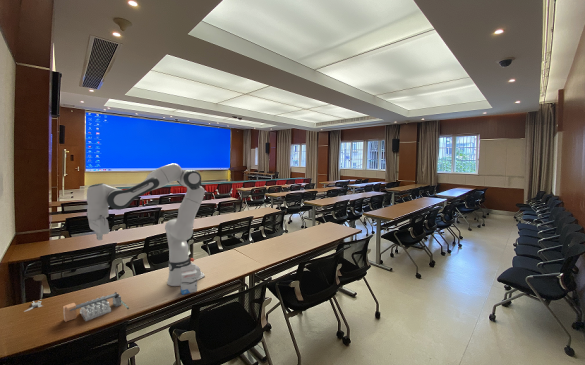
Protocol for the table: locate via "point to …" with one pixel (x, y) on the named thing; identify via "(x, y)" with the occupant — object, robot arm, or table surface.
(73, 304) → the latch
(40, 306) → the pliers
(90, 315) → the heatsink
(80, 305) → the strap
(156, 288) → the table surface
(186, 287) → the ink box
